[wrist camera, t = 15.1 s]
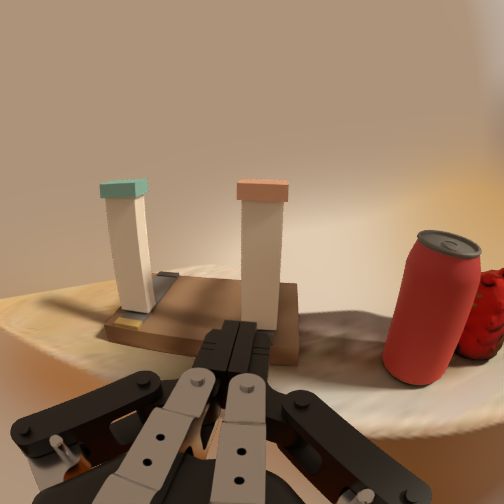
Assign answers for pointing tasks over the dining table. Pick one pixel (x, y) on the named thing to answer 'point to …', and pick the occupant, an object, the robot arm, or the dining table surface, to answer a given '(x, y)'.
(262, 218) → the white tall bar
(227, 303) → the wooden slider base
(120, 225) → the teal slider
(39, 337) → the dining table surface
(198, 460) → the robot arm
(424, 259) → the beer can
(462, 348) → the red clay folk toy
